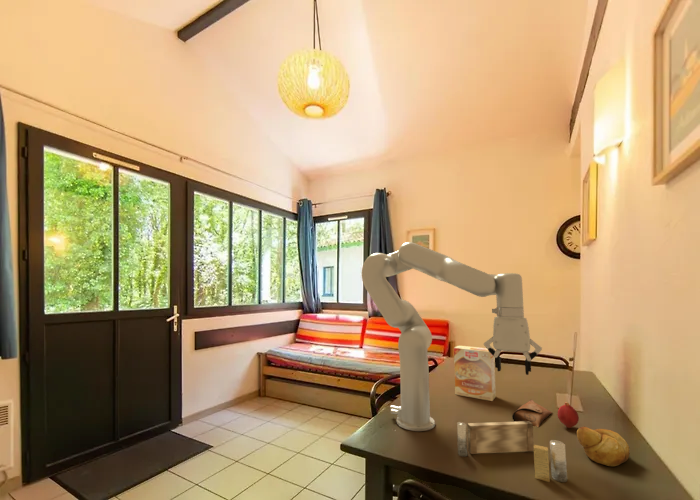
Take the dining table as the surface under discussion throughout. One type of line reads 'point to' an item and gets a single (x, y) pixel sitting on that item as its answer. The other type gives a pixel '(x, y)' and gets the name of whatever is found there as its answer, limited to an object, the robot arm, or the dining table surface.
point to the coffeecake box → (474, 372)
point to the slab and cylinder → (556, 462)
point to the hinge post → (462, 439)
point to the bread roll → (603, 446)
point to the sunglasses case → (531, 413)
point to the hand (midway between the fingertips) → (513, 371)
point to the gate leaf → (500, 437)
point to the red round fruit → (568, 415)
